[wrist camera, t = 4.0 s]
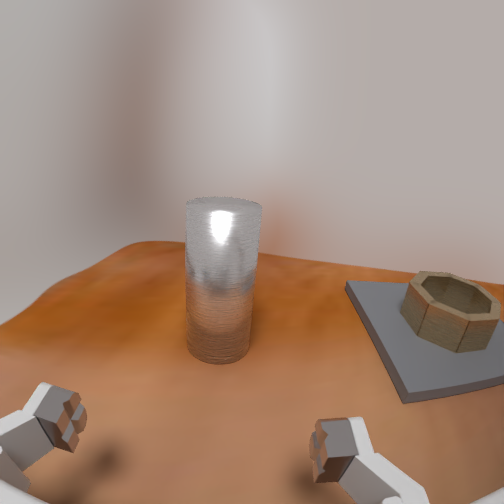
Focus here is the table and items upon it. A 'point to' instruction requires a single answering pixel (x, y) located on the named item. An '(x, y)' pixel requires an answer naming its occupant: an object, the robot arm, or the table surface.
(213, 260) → the piston
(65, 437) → the robot arm
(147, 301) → the table surface
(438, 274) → the bronze ring
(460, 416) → the table surface
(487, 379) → the base plate
